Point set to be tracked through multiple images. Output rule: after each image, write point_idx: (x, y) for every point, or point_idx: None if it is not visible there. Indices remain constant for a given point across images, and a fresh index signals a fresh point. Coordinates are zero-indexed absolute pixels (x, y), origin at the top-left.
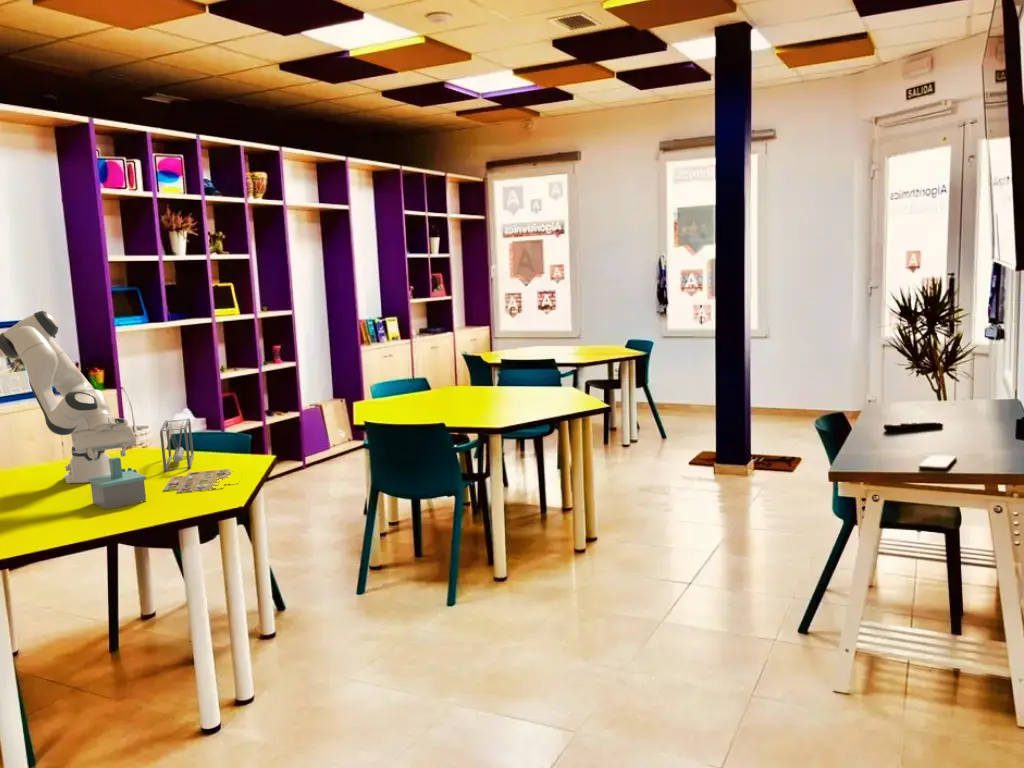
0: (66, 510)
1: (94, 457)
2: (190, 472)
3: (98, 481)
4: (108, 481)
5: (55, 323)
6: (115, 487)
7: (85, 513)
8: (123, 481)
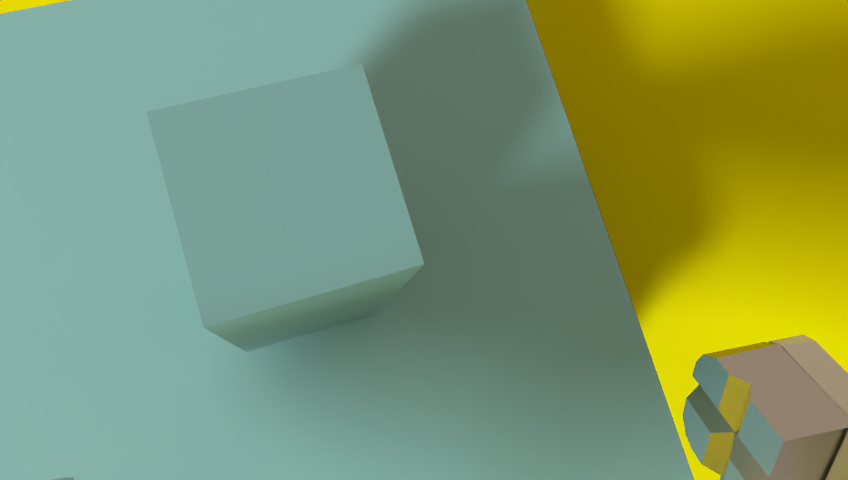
0: (748, 297)
1: (779, 346)
2: None
3: (541, 155)
4: (412, 57)
5: None
6: None
7: (583, 74)
8: None
